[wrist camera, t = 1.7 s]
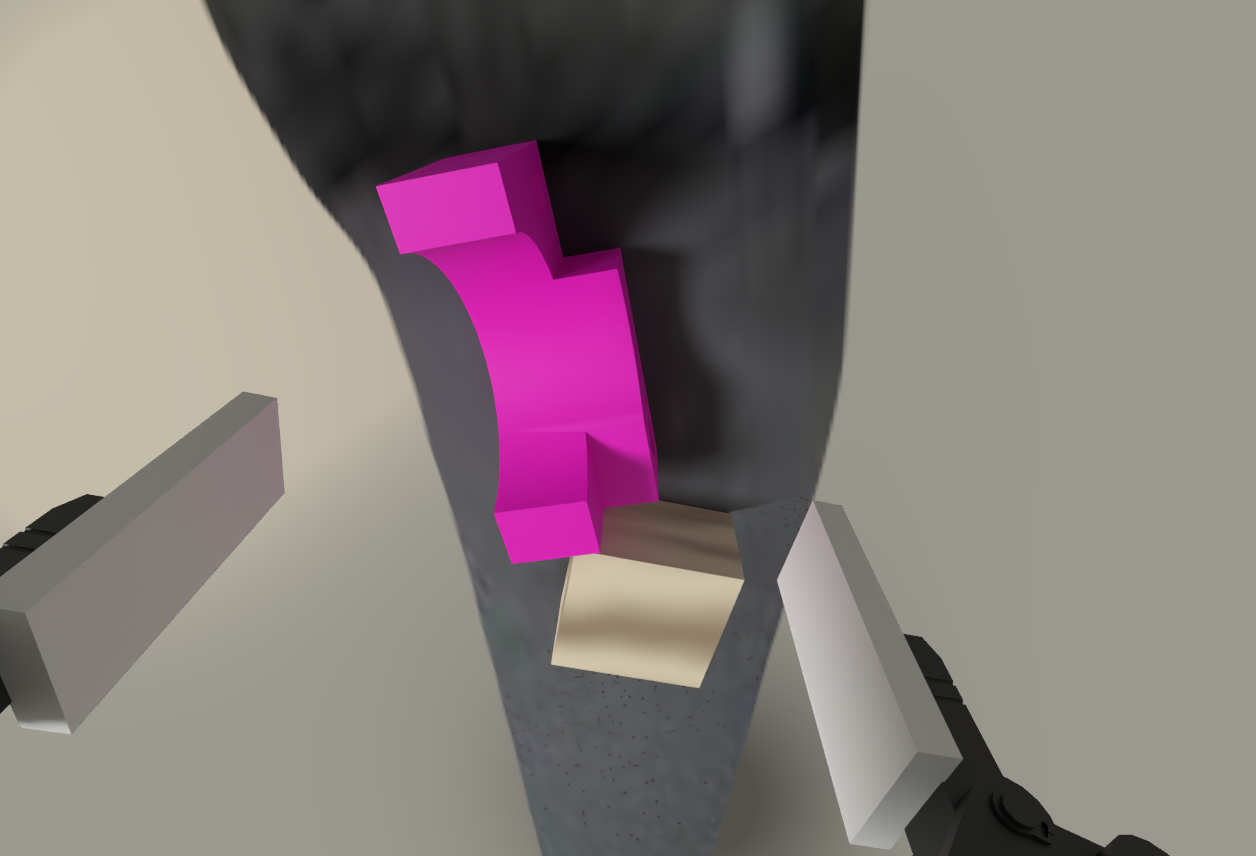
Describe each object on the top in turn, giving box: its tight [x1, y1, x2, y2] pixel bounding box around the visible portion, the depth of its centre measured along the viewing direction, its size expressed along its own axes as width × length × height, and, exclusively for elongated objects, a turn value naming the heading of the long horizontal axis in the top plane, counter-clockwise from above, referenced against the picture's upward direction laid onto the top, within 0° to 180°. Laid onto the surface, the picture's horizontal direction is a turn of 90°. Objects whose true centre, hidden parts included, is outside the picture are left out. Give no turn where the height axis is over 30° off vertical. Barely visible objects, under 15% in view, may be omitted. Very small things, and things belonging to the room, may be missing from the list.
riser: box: [551, 500, 744, 688], centre depth 32 cm, size 8×8×5 cm
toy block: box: [376, 140, 659, 564], centre depth 25 cm, size 15×6×8 cm, turn 10°
